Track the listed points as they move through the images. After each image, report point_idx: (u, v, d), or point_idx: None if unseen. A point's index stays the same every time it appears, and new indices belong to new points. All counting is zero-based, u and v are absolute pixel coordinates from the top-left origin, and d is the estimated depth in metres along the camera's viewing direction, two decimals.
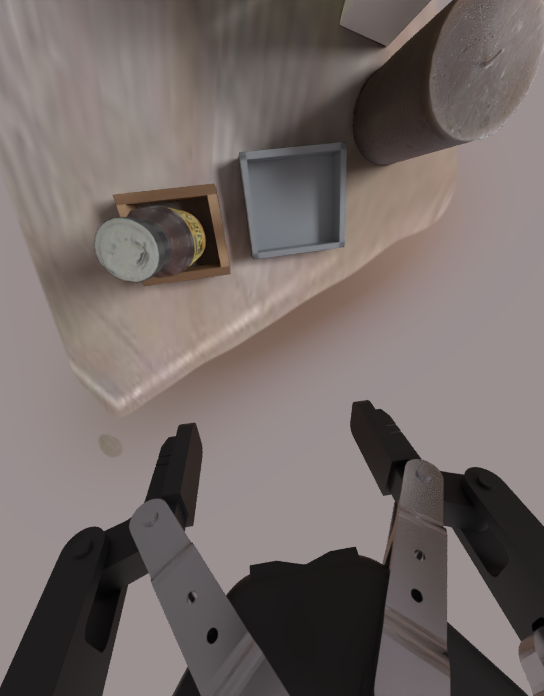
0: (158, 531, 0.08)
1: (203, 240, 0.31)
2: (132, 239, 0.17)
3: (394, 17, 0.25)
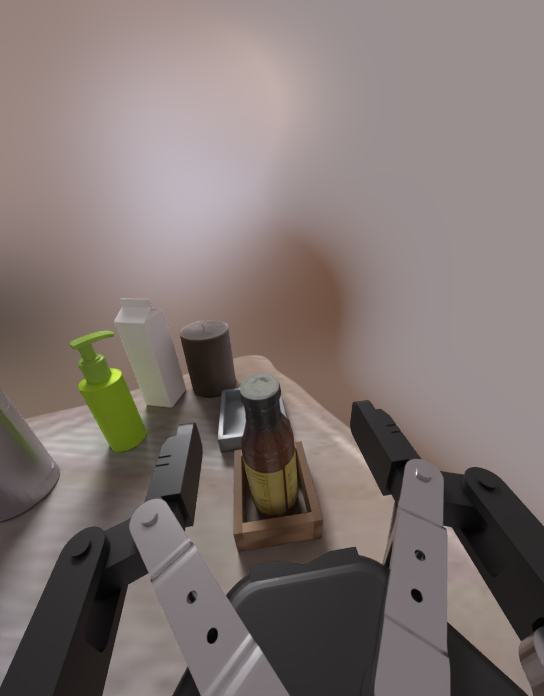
0: (158, 531, 0.08)
1: None
2: (252, 382, 0.26)
3: (178, 379, 0.54)
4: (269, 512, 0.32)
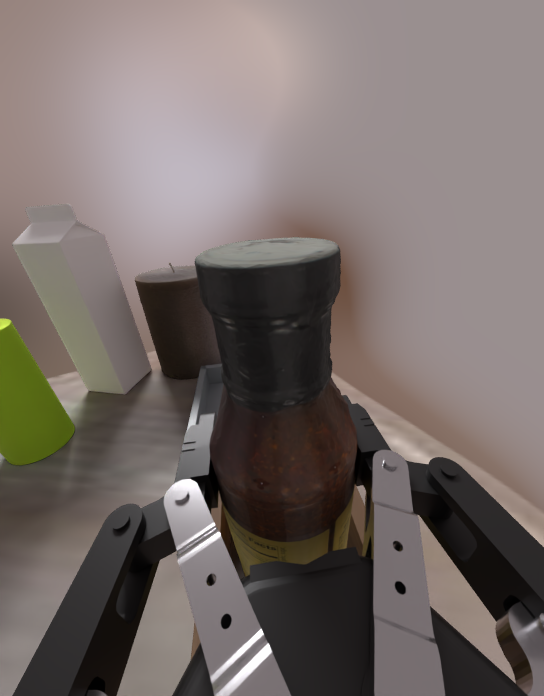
0: (187, 510, 0.09)
1: None
2: (241, 246, 0.08)
3: (136, 352, 0.36)
4: None
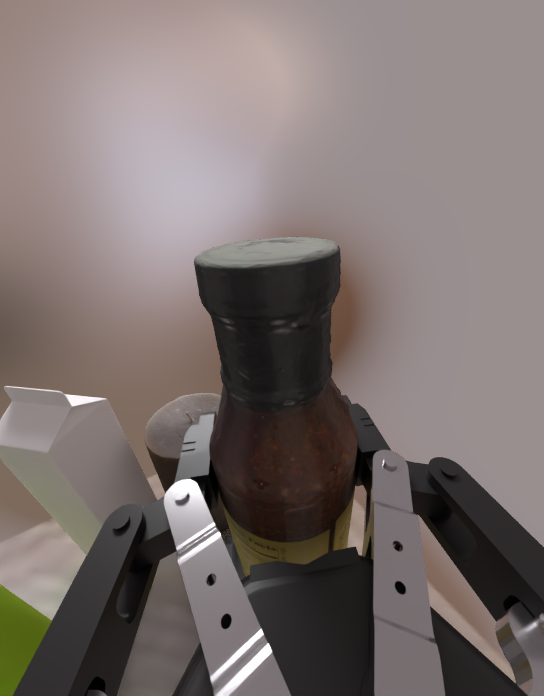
0: (187, 510, 0.09)
1: None
2: (241, 246, 0.08)
3: None
4: None
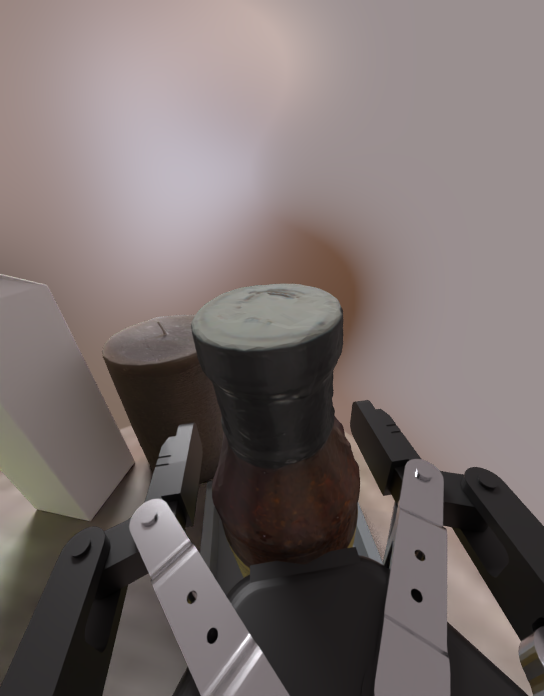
0: (157, 531, 0.08)
1: None
2: (240, 301, 0.07)
3: (109, 449, 0.24)
4: None
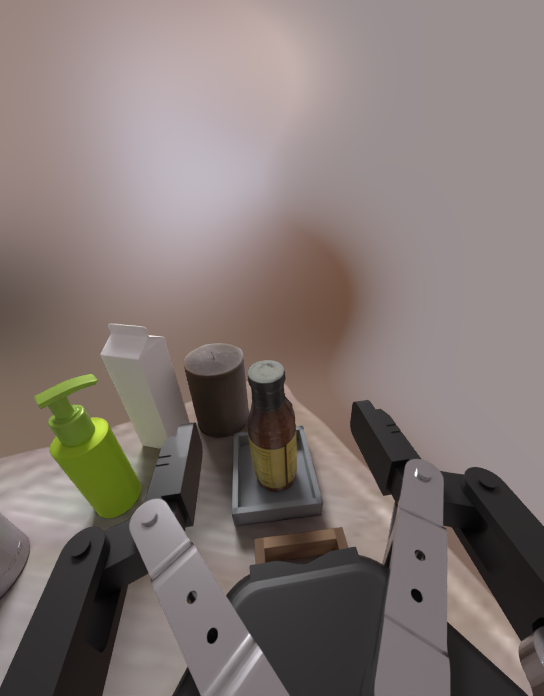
0: (157, 531, 0.08)
1: None
2: (259, 367, 0.28)
3: (181, 416, 0.45)
4: (270, 485, 0.35)
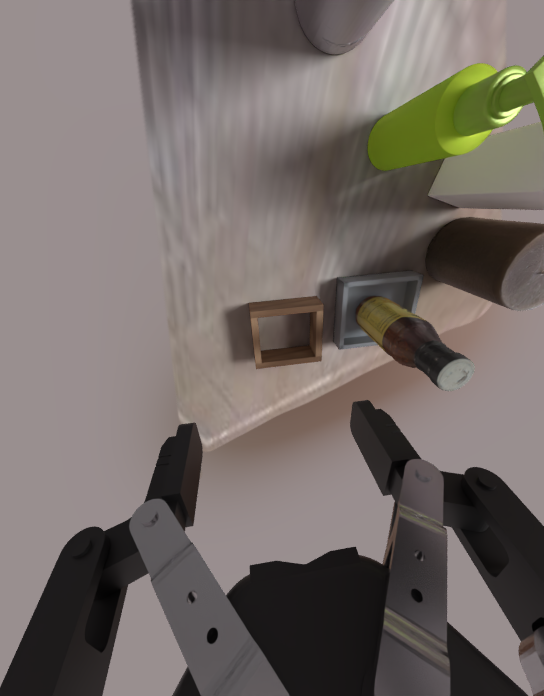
0: (158, 531, 0.08)
1: None
2: (463, 369, 0.26)
3: (472, 205, 0.34)
4: (360, 312, 0.41)
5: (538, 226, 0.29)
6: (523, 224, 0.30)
